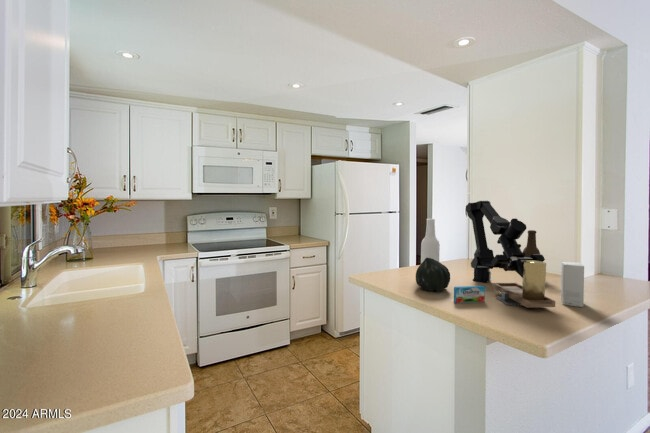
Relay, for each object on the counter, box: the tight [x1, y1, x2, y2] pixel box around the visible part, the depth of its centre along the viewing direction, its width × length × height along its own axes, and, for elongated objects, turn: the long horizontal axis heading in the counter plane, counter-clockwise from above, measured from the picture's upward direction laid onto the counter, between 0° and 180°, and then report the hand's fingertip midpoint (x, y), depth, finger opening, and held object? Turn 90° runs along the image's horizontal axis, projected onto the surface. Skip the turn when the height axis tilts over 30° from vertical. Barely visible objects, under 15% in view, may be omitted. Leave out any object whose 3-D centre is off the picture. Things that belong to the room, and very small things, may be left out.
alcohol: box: [420, 218, 441, 264], centre depth 162 cm, size 9×9×30 cm
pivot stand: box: [495, 292, 523, 306], centre depth 127 cm, size 8×15×4 cm, turn 91°
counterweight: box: [522, 260, 547, 300], centre depth 120 cm, size 7×7×14 cm
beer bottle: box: [522, 229, 541, 258], centre depth 161 cm, size 8×8×24 cm
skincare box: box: [560, 261, 585, 308], centre depth 125 cm, size 8×7×16 cm
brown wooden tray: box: [492, 282, 556, 308], centre depth 127 cm, size 23×10×2 cm, turn 1°
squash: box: [415, 258, 451, 293], centre depth 145 cm, size 14×15×15 cm
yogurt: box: [453, 285, 486, 304], centre depth 127 cm, size 12×2×6 cm, turn 95°
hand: (526, 279), depth 124 cm, fingers closed
